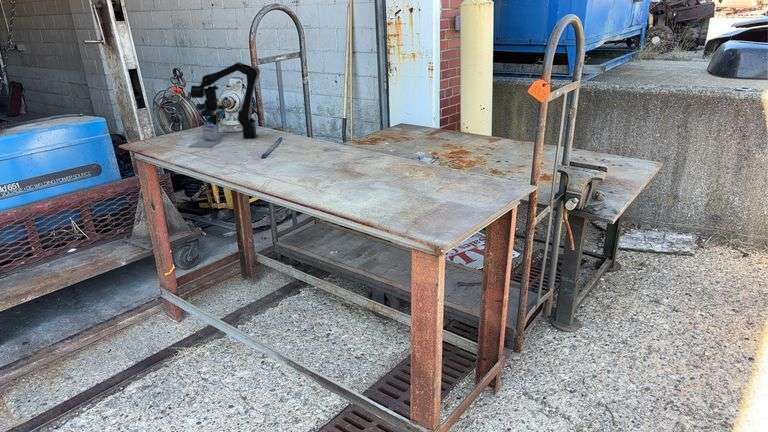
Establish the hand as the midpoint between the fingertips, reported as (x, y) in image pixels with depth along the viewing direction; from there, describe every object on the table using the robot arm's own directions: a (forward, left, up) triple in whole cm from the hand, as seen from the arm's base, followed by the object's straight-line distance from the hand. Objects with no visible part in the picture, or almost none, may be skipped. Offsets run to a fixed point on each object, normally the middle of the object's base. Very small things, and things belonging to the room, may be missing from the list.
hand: (215, 125), depth 309 cm
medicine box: (0, +6, -7) cm, 9 cm away
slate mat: (0, +15, -7) cm, 16 cm away
